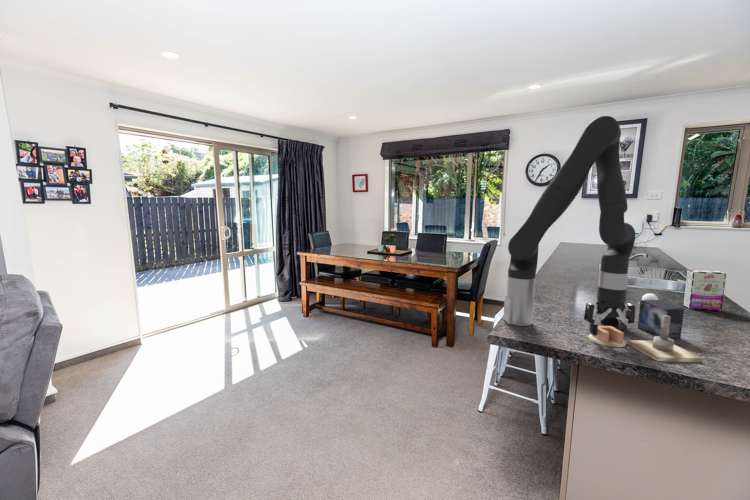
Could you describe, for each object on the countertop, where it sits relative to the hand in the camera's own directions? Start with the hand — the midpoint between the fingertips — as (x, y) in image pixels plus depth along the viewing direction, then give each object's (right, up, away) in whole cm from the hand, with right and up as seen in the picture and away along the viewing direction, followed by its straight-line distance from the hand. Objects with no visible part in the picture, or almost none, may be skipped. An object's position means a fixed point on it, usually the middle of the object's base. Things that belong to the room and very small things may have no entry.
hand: (607, 335), depth 107 cm
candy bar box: (+65, +2, +35) cm, 74 cm away
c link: (0, -2, 0) cm, 2 cm away
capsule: (+37, +1, +29) cm, 48 cm away
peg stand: (+11, -3, -8) cm, 14 cm away
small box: (+22, -1, +7) cm, 24 cm away
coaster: (0, -2, 0) cm, 2 cm away
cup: (+12, 0, +16) cm, 20 cm away
